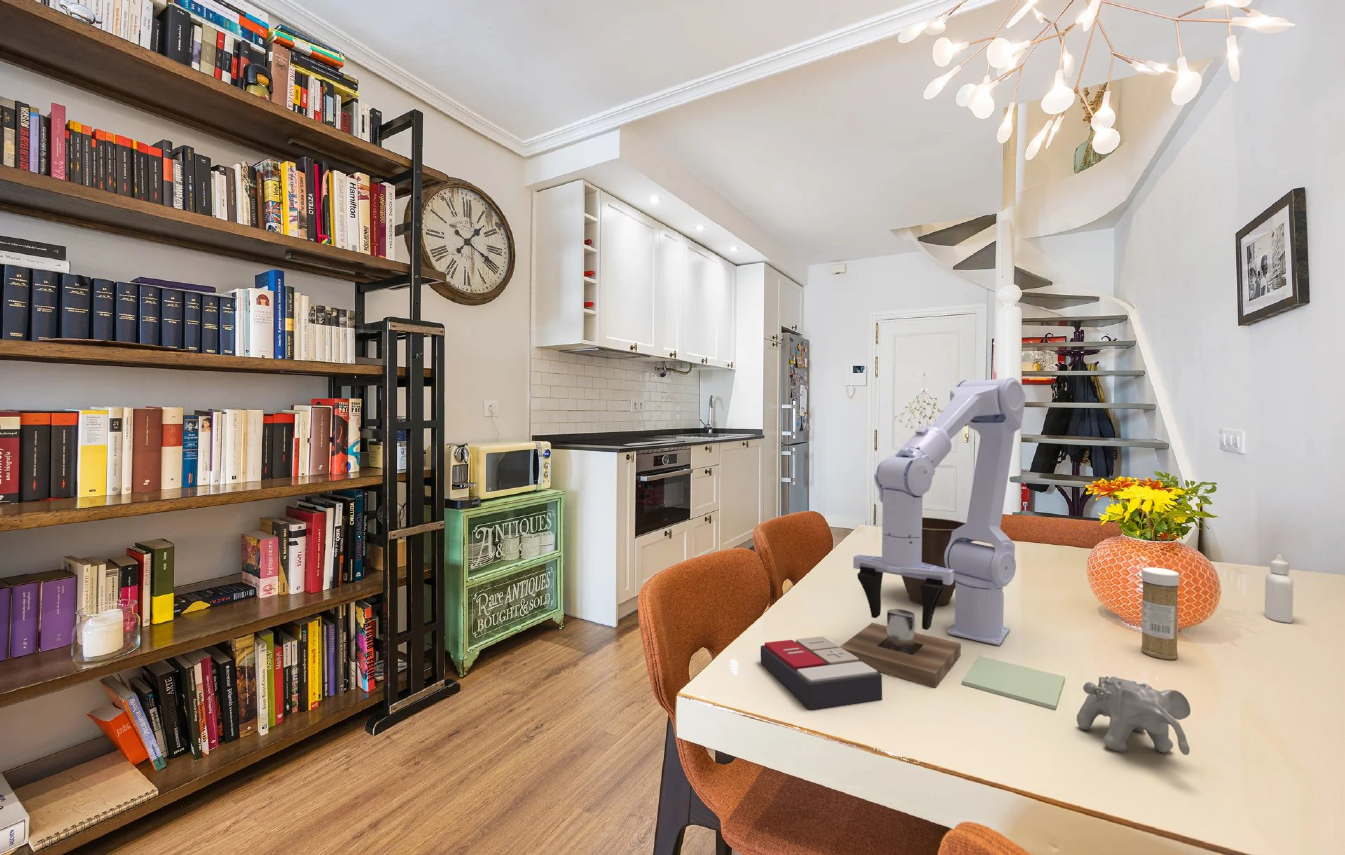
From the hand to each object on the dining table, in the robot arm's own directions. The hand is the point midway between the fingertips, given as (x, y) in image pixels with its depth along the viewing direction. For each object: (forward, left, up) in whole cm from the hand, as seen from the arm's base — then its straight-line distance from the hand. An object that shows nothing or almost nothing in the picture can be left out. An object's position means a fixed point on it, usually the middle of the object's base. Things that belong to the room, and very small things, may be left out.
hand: (900, 622), depth 89 cm
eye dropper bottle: (-65, +49, -6) cm, 81 cm away
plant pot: (-33, -5, -6) cm, 34 cm away
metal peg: (0, 0, -6) cm, 6 cm away
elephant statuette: (+8, +29, -6) cm, 31 cm away
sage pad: (-2, +15, -6) cm, 16 cm away
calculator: (+15, -7, -6) cm, 18 cm away
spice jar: (-28, +31, -6) cm, 42 cm away
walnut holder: (0, 0, -6) cm, 6 cm away
